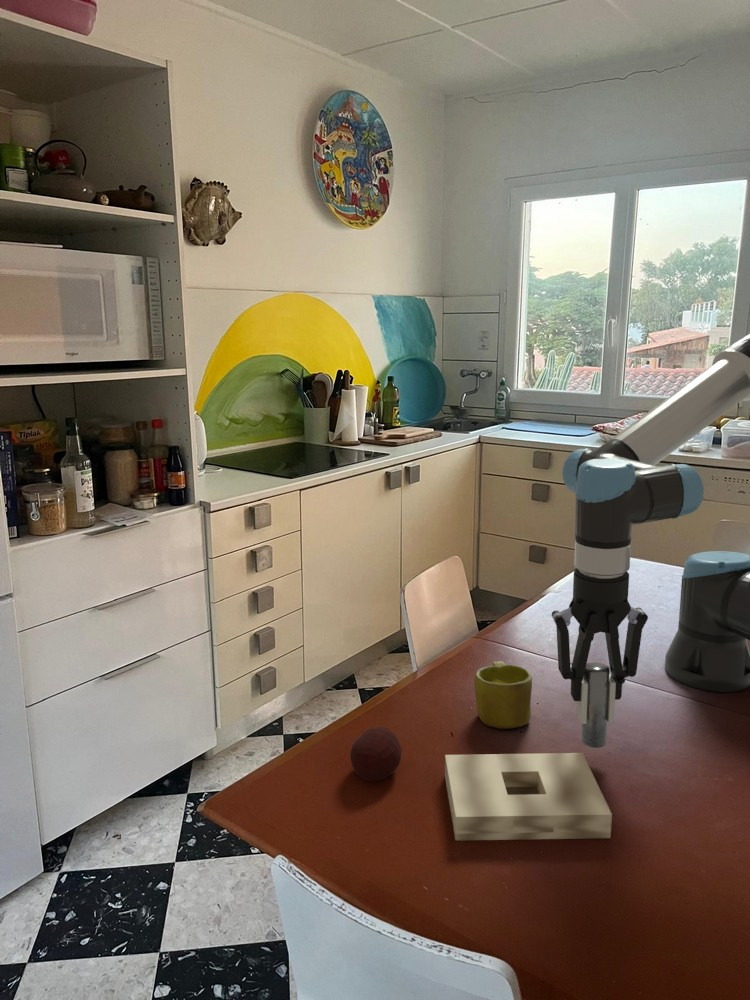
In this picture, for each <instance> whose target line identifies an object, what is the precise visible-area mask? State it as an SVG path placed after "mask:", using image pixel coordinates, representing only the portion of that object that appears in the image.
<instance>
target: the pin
mask: <svg viewBox="0 0 750 1000" xmlns="http://www.w3.org/2000/svg"><path fill="white" fill-rule="evenodd" d="M610 672H611V671H610V666H608V665H607V664H605V663H602V662H595V661H594V662H587V664H586V668H585V673H584V679H585V680H586V681H587V683H588V695H587V720H586V724H581V736H580V740H581V743H583V745H584V746H587V747H589V748H593V749H597V748H599V749H601V748H603V747H605V746H606V744H607V737H608V736H607V733H608V732H607V731H608V721H607V712H608V691H609V674H610Z"/></svg>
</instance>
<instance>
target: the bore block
mask: <svg viewBox="0 0 750 1000" xmlns="http://www.w3.org/2000/svg"><path fill="white" fill-rule="evenodd" d="M444 779H445V785H446V791H447V798H448V803H449V810H450V815H451V822H452V827H453V832H454V833H453V835H454V839H455V841H457V842H458V841H501V840H502V841H507V840H508V841H513V840H515V841H516V840H519V841H522V840H565V839H566V840H568V839H569V840H570V839H571V840H575V839H577V840H578V839H579V840H580V839H611V835H612V834H611V833H612V824H613V823H612V819H613V813H612V812H611V810H610V807H609V804H608V803H607V801H606V799H605V797H604V794H603V792H602V791H601V789H600V787H599V784H598V783H597V780H596V779H595V776H594V774H593V772H592V769H591V768H590V765H589V764H588V762H587V759H586V757H585V755H584V753H583V752H553V753H550V752H549V753H547V752H546V753H545V752H544V753H541V752H540V753H538V752H537V753H498V754H497V753H494V754H493V753H492V754H491V753H489V754H488V753H486V754H477V753H476V754H474V753H473V754H444Z"/></svg>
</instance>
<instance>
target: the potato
mask: <svg viewBox="0 0 750 1000" xmlns="http://www.w3.org/2000/svg"><path fill="white" fill-rule="evenodd" d="M401 759H402V747H401V743H400V741H399V739H398V736H397V735H396V734H395V733H394V732H393V731H391V730H390V729H389V728H386V727H383V726H374V727H371V728H369V729H367V730H365V731H364V732H363V733H361V734H360V735H359V737H357V738H355V740H354V741H353V743H352V746H351V749H350V762H351V765H352V768H353V770H354V772H355V773H356V775H357V776H358V777H360V778H361V779H363V780H364V781H367V782H374V781H375V782H376V781H381V780H384V779H386V778H388V777H390V776H391V775H392V774H394V772H395V771H396V769H397V768H398V767H399V765H400V763H401Z"/></svg>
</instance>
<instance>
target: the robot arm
mask: <svg viewBox="0 0 750 1000" xmlns="http://www.w3.org/2000/svg"><path fill="white" fill-rule="evenodd" d="M742 401H744V402H748V401H750V333H748V334H745V335H744V336H742V337H741V338H739V339H738V340H736V341H734V342H732V343H731V344H729V345H728V346H727V347H725V348H724V349H722V350H721V351H720V352H719V353H718V354H716V355H715V356H714V358H713V360H712V364H711V366H710V367H708V368H707V369H705V370H704V371H703V372H701V373H700V374H698V375H697V376H696V377H695V378H694V377H693V379H692V380H690V381H689V382H687V383H686V384H685V385H684V386H682V387H681V388H680V389H677V390H676V391H674V393H672V394H671V395H670V396H668V397H667V398H665V399H664V400H663V401H661V402H660V403H658V404H657V405H656V406H655V407H653V408H652V409H650V410H649V411H648V412H646V413H645V414H643V415H642V416H641V417H639V418H638V419H637V420H635V421H634V422H632V423H631V424H629V425H628V426H627V427H626V428H624V429H623V430H621V431H620V432H619V433H617V434H616V435H615V436H613V437H612V438H610V439H609V440H607V442H605V443H603V444H602V445H601V446H599V447H598V448H596V449H593V448H590V447H589V448H579V449H575V450H574V451H572V452H571V453H569V455H568V456H567V458H566V459H565V461H564V462H563V467H562V474H561V475H562V476H561V477H562V480H563V484H564V485H565V487H566V488H567V489H568V490H569V491H570V492H572V493H574V494H575V523H574V524H575V527H574V528H575V531H574V532H575V533H574V535H575V536H574V558H573V559H574V560H573V566H574V567H575V569H574V570H573V584H572V586H573V587H572V599H571V601H570V603H569V604H568V605H569V606H568V608H566V609H563V610H561V611H559V610H554V611H552V612H551V617H552V619H553V622H554V623H555V625H556V643H557V644H556V645H557V646H556V647H557V662H558V663H557V664H558V665H557V666H558V667H557V669H558V671H559V673H560V674H561V676H562V679H564V680H570V695H571V697H572V699H573V701H574V702H576V712H575V715H576V717H577V718H578V720H579V722H580V724H581V725H582V724H586V720H587V695H588V683H587V681H586V680H585V679H584V673H585V668H586V664H587V663H588V658H589V655H590V650H591V645H592V642H593V640H594V638H595V634H598V633H604V637H605V641H606V643H605V644H606V650H607V658H608V664H609V669H610V671H609V672H610V673H609V691H608V712H607V724H612V723H615V709H616V708H615V707H616V705H615V704H616V700H621V698H622V694H623V693H622V691H623V684H625V682H626V678H628V677H631V678H633V677H635V676H636V675H637V672H638V671H637V669H638V663H639V662H638V661H639V655H640V647H641V640H642V634H643V629H644V627H645V625H646V624H647V621H648V620H649V617H648V616H649V615H648V614H647V613H646V612H645V611H644V610H643V609H642V607H639V606H638V607H634V606H632V605H631V604H630V602H629V584H630V583H629V582H630V574H629V572H628V571H629V569H630V568H631V546H632V545H631V542H632V531H633V526H635V525H641V524H647V523H651V522H652V523H653V522H657V521H663V520H669V519H672V520H673V519H674V520H675V519H678V518H679V517H682V516H686V515H689V514H692V513H694V512H695V511H697V510H698V509H699V507H700V506H701V505H702V503H703V500H704V491H705V489H704V488H705V487H704V481H703V480H702V477H701V475H700V473H699V472H698V471H697V470H696V469H695V468H693V466H690V465H689V464H684V463H680V464H679V463H677V464H674V463H668V464H666V465H657V464H659V463H660V462H661V461H662V460H664V459H665V458H667V457H668V456H669V455H671V454H672V453H674V452H675V451H676V450H677V449H679V448H680V447H682V446H683V445H684V444H685V443H687V442H688V441H689V440H691V439H692V438H693V437H695V436H697V435H698V434H699V433H701V432H702V431H703V430H705V428H707V427H708V426H710V425H711V424H713V423H714V422H715V421H716V420H717V419H719V418H721V417H722V416H724V415H725V413H727V412H729V411H730V410H731V409H732V408H734V407H735V406H736V405H738V404H739V403H741V402H742ZM572 617H574V619H575V620H576V621H577V623H578V624H579V626H578V636H577V640H576V644H575V648H574V654H573V657H572V658H573V659H572V662H571V652H570V650H571V649H570V648H571V647H570V632H569V628H568V627H569V626H570V625H571V619H572ZM626 617H627V620H628V623H627V628H626V629H627V631H626V638H625V645H624V652H623V659H622V655H621V647H620V632H619V626H620V625H621V624H622V622H623V621H624V620H625V619H626ZM677 627H678V628H677V631H676V633H675V634H674V637H673V639H672V640H671V643H670V645H669V647H668V649H667V651H666V654H665V659H664V669H665V671H666V673H667V674H668V675H669V676H670V677H671V678H673V679H674V680H675V681H678V682H680V683H682V684H684V685H686V686H690V687H692V688H694V689H697V690H699V689H700V690H702V691H703V690H704V691H708V692H709V691H710V692H716V693H717V692H718V693H731V692H738V691H739V692H740V691H743V690H745V689H747V688H749V687H750V647H749V644H748V641H750V554H747V553H743V552H737V551H729V550H728V551H726V550H718V551H717V550H716V551H715V550H713V551H702V552H701V551H700V552H696V553H693V554H691V555H689V556H688V557H687V558H686V559H685V562H684V566H683V572H682V575H681V588H680V599H679V616H678V626H677Z"/></svg>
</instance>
